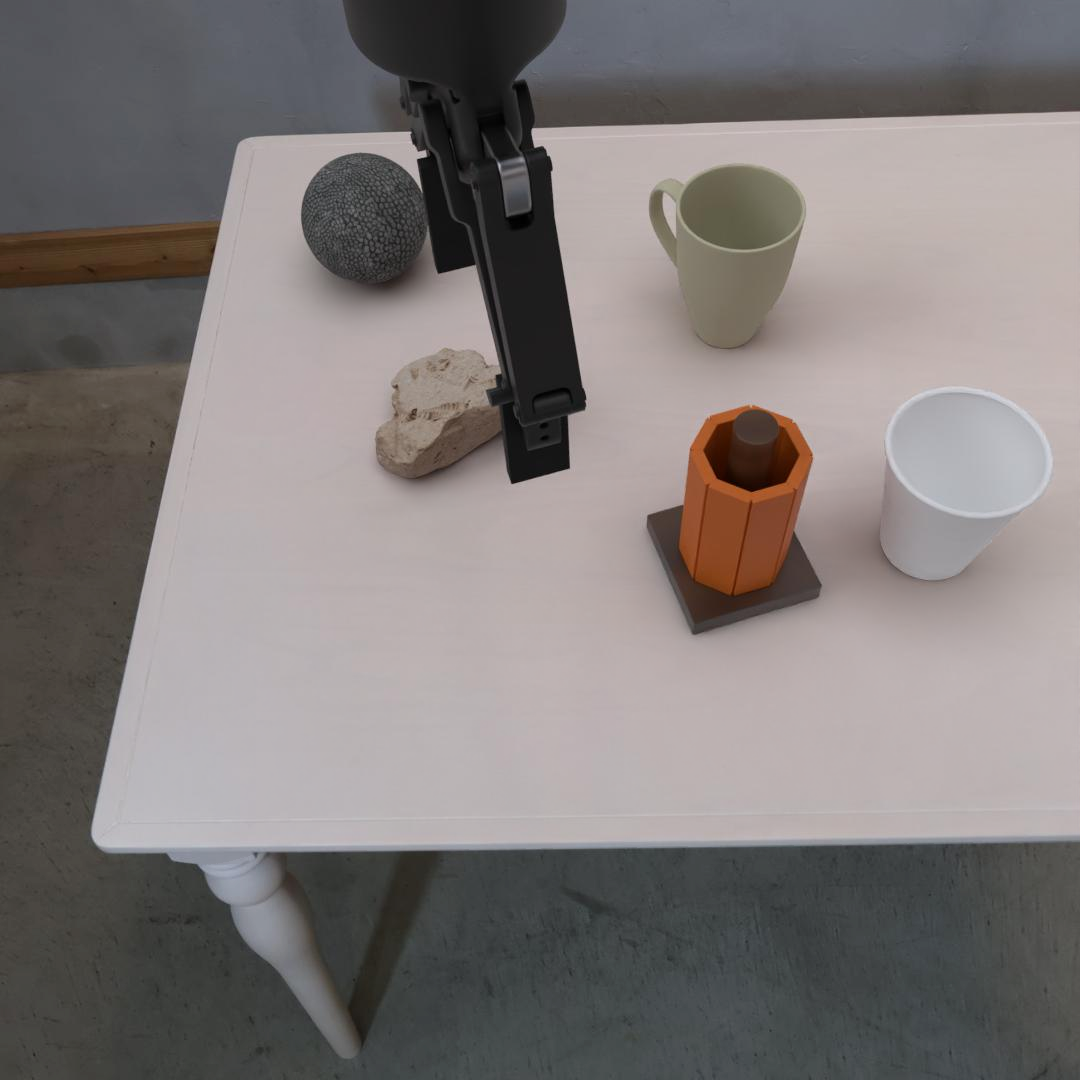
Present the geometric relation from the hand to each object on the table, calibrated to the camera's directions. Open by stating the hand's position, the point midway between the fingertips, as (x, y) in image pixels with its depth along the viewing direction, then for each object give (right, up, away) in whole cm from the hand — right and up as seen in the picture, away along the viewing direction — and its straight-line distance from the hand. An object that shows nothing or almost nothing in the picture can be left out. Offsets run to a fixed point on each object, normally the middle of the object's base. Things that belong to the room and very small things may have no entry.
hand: (497, 360), depth 54 cm
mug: (+16, +9, +36) cm, 40 cm away
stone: (-4, 0, +31) cm, 31 cm away
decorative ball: (-12, +14, +41) cm, 45 cm away
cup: (+28, -9, +24) cm, 38 cm away
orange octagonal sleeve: (+15, -9, +22) cm, 29 cm away
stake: (+15, -10, +24) cm, 30 cm away
